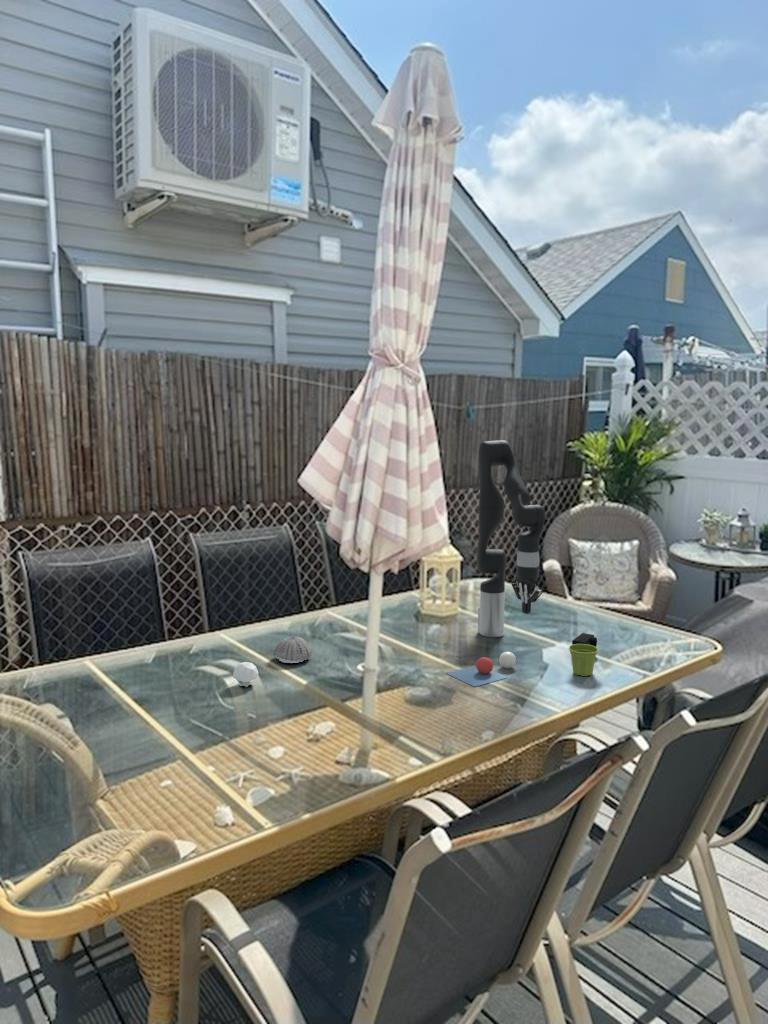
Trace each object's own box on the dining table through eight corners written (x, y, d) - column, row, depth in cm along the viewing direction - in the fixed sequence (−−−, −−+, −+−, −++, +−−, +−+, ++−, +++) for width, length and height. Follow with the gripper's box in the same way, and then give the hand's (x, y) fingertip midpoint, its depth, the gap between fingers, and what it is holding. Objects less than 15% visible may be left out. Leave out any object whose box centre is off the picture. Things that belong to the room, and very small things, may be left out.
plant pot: (564, 675, 233) (565, 650, 231) (571, 666, 241) (572, 642, 240) (594, 680, 228) (595, 654, 227) (600, 671, 237) (601, 646, 235)
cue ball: (508, 649, 243) (506, 665, 243) (497, 649, 240) (494, 666, 240) (520, 653, 239) (518, 669, 239) (508, 653, 236) (506, 670, 236)
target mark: (446, 673, 235) (446, 673, 235) (478, 665, 242) (478, 664, 242) (474, 687, 223) (474, 686, 223) (507, 677, 231) (507, 677, 231)
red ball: (485, 668, 238) (473, 673, 236) (484, 653, 238) (472, 657, 235) (497, 673, 234) (484, 678, 231) (496, 657, 233) (483, 662, 230)
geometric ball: (250, 696, 223) (252, 682, 218) (227, 685, 224) (228, 671, 219) (261, 677, 229) (263, 663, 223) (239, 667, 230) (241, 653, 224)
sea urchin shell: (315, 654, 254) (315, 632, 253) (308, 667, 241) (307, 644, 240) (279, 652, 256) (278, 631, 254) (269, 666, 242) (268, 643, 241)
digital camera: (586, 662, 245) (587, 643, 244) (571, 659, 248) (572, 640, 247) (596, 654, 254) (597, 635, 253) (581, 651, 257) (582, 632, 256)
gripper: (505, 561, 245) (504, 610, 248) (534, 569, 234) (532, 619, 237) (521, 558, 249) (520, 606, 252) (550, 566, 238) (548, 616, 241)
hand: (526, 613), depth 245 cm, fingers closed
